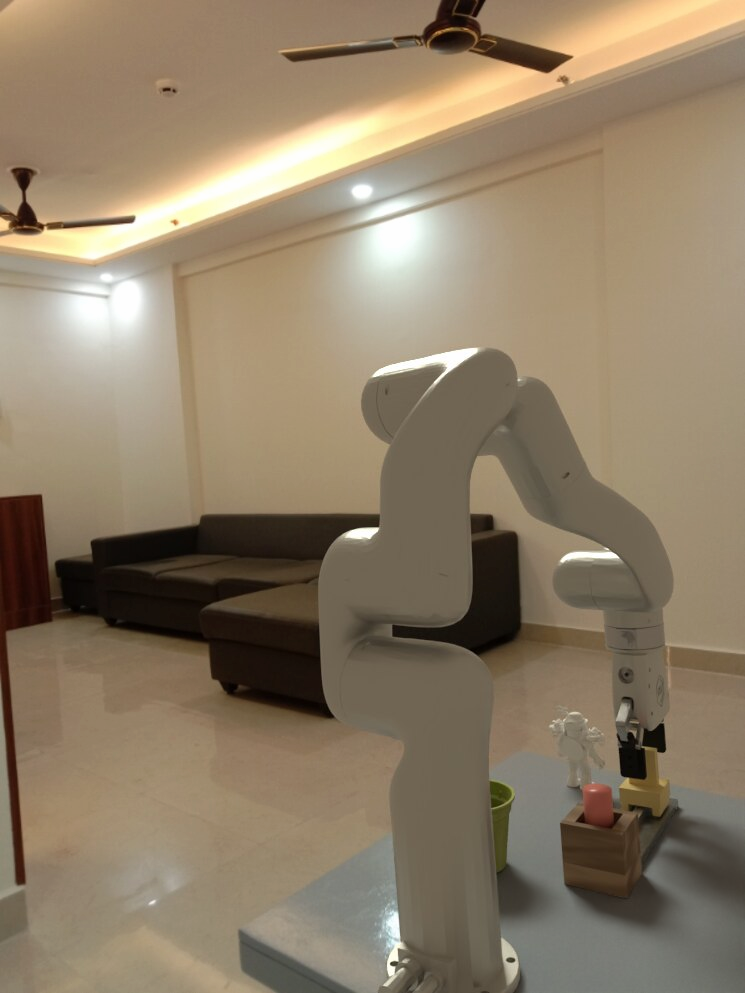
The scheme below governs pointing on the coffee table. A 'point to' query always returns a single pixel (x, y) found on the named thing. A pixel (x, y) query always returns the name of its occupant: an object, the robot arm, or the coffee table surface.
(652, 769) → the carriage
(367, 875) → the coffee table surface
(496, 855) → the plant pot
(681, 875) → the coffee table surface
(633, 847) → the wooden box
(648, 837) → the rail
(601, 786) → the plunger
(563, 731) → the flower shoulder figurine
